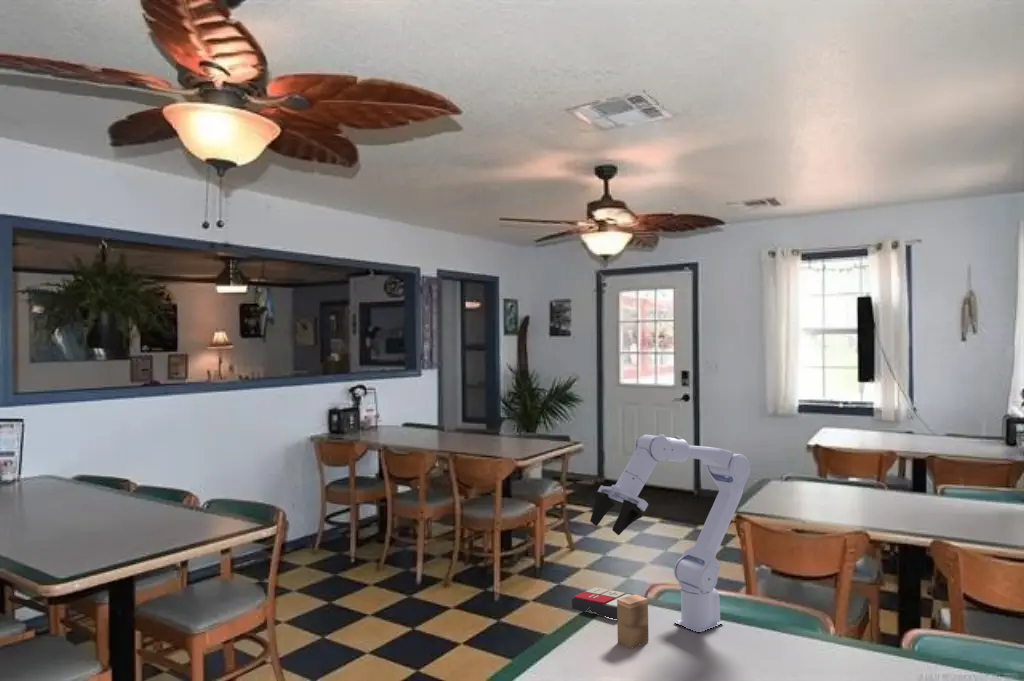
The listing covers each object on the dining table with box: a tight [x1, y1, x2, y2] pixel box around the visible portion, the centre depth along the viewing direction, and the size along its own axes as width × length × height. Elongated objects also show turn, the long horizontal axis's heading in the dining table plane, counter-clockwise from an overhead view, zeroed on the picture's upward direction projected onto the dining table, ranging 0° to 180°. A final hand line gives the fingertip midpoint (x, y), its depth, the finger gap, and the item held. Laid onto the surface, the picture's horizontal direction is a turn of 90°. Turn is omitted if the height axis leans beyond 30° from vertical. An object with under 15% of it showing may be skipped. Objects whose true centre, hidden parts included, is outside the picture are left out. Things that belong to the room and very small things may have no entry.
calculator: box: [571, 586, 632, 619], centre depth 183 cm, size 11×4×15 cm
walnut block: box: [616, 593, 649, 649], centre depth 161 cm, size 6×4×10 cm, turn 126°
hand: (604, 528), depth 159 cm, fingers open, 7 cm apart
